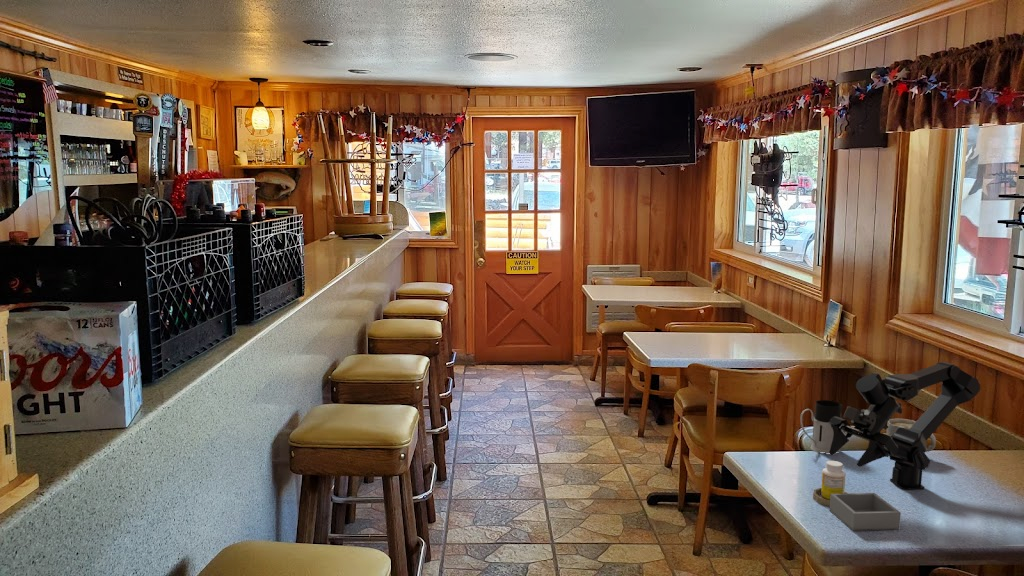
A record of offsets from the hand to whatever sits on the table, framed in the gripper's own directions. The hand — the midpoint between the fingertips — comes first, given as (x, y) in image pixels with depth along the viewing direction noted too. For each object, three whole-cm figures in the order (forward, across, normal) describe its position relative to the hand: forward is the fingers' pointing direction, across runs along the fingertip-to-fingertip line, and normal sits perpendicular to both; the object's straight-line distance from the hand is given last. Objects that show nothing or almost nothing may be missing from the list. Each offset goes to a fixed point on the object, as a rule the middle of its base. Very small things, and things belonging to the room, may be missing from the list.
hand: (843, 459), depth 199 cm
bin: (+11, +12, +4) cm, 17 cm away
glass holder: (-8, -30, +23) cm, 39 cm away
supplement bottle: (+10, 0, +6) cm, 11 cm away
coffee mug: (-24, -16, +39) cm, 49 cm away
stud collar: (+10, 0, +5) cm, 11 cm away
